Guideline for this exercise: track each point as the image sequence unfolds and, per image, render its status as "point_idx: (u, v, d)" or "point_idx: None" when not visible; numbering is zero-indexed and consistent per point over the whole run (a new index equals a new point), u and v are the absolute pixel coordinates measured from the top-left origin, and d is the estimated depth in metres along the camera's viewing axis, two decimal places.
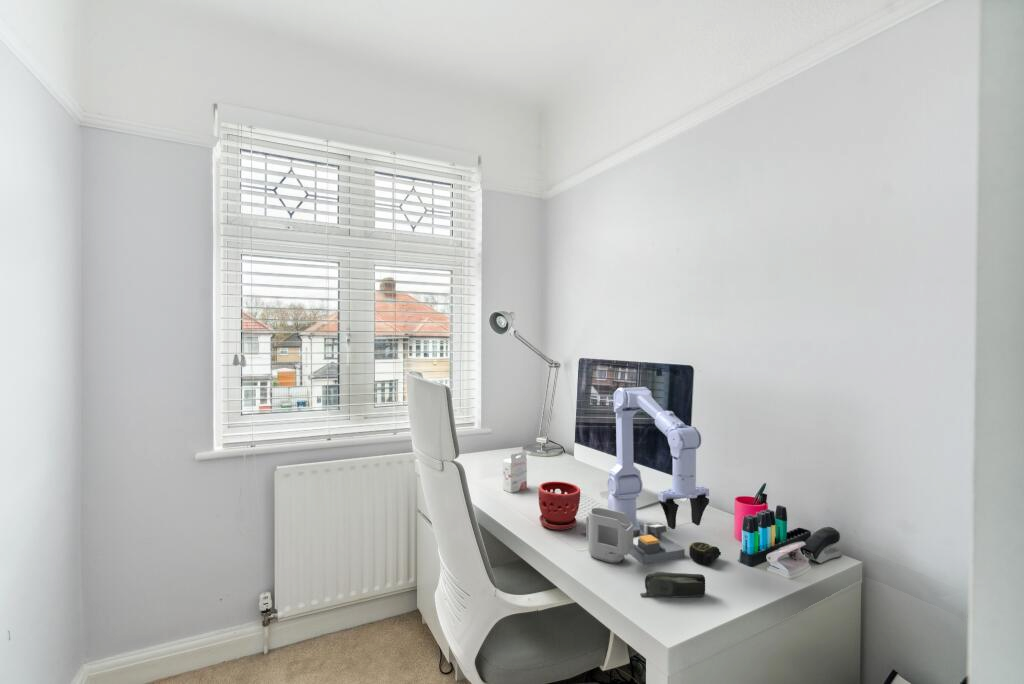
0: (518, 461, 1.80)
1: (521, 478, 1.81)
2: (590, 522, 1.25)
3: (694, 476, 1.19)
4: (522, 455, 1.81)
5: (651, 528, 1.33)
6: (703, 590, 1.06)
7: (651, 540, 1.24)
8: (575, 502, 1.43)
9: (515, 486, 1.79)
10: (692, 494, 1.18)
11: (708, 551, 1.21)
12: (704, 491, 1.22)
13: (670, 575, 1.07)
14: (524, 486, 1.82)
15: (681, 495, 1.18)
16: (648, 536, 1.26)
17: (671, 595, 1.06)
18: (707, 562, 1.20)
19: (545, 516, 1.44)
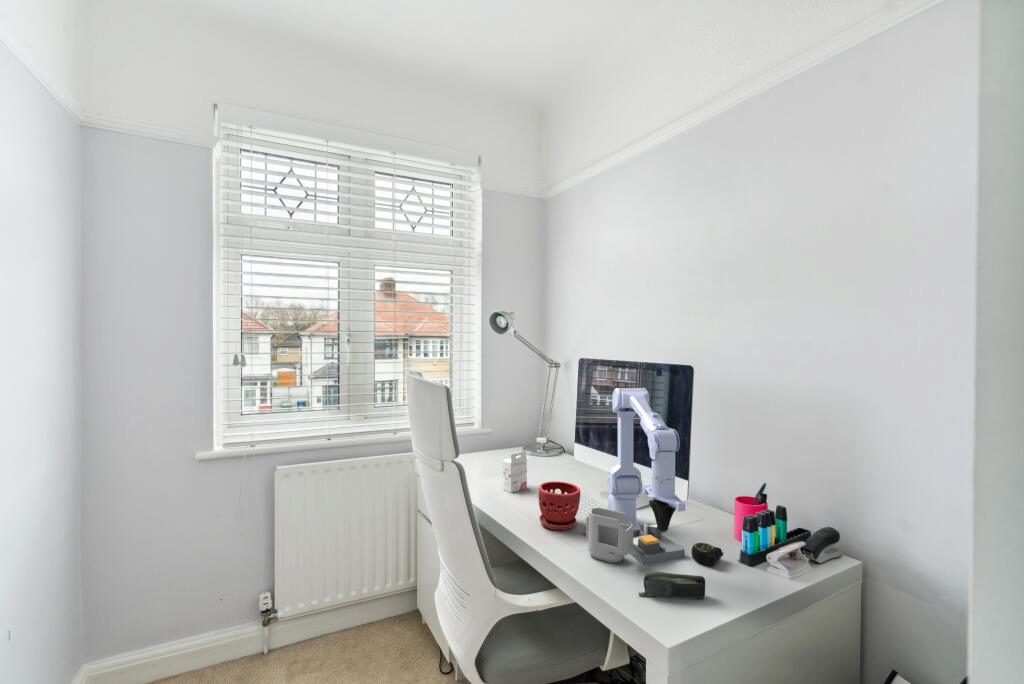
0: (518, 461, 1.80)
1: (521, 478, 1.81)
2: (590, 522, 1.25)
3: (657, 479, 1.17)
4: (522, 455, 1.81)
5: (651, 528, 1.33)
6: (703, 592, 1.05)
7: (651, 540, 1.24)
8: (575, 502, 1.43)
9: (515, 486, 1.79)
10: (652, 495, 1.18)
11: (710, 552, 1.21)
12: (672, 503, 1.14)
13: (669, 575, 1.06)
14: (524, 486, 1.82)
15: (649, 492, 1.21)
16: (648, 536, 1.26)
17: (670, 596, 1.05)
18: (709, 563, 1.19)
19: (545, 516, 1.44)
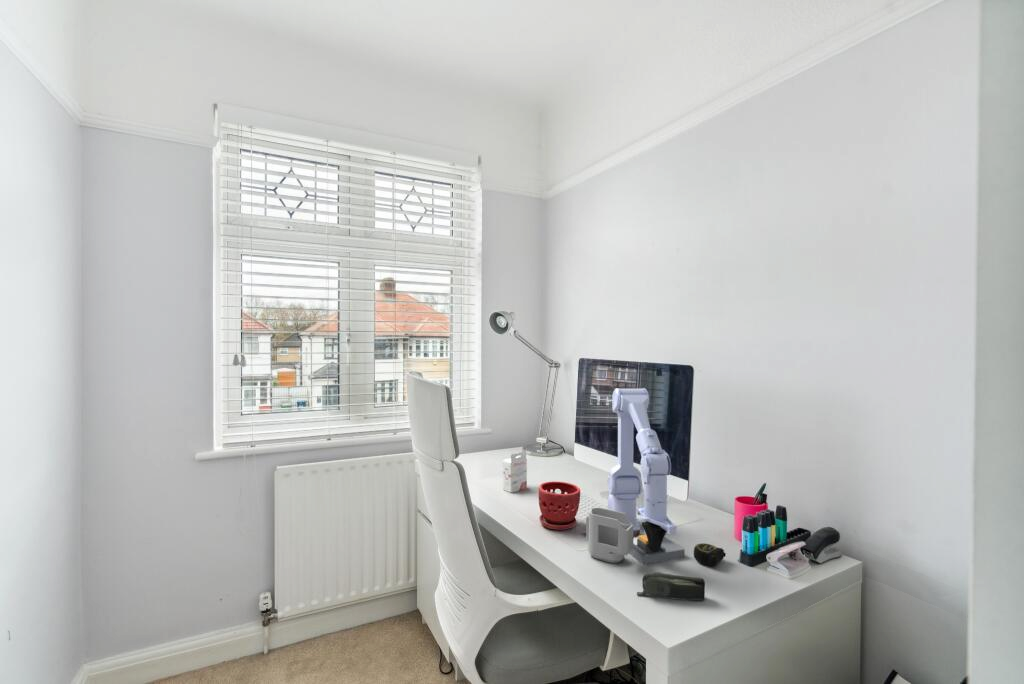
0: (518, 461, 1.80)
1: (521, 478, 1.81)
2: (590, 522, 1.25)
3: (649, 502, 1.21)
4: (522, 455, 1.81)
5: None
6: (702, 594, 1.04)
7: None
8: (575, 502, 1.43)
9: (515, 486, 1.79)
10: (644, 517, 1.21)
11: (713, 553, 1.21)
12: (664, 525, 1.17)
13: (668, 576, 1.06)
14: (524, 486, 1.82)
15: (641, 514, 1.24)
16: None
17: (668, 596, 1.05)
18: (712, 563, 1.19)
19: (545, 516, 1.44)
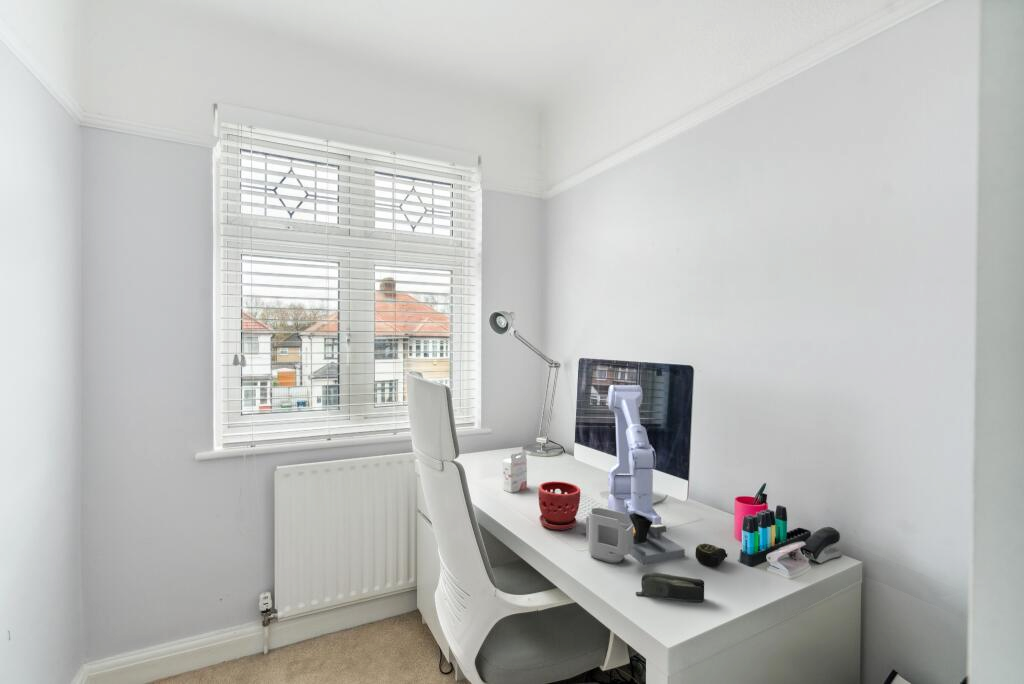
0: (518, 461, 1.80)
1: (521, 478, 1.81)
2: (590, 522, 1.25)
3: (636, 494, 1.26)
4: (522, 455, 1.81)
5: (651, 528, 1.33)
6: (701, 595, 1.04)
7: None
8: (575, 502, 1.43)
9: (515, 486, 1.79)
10: (631, 509, 1.27)
11: (714, 553, 1.20)
12: (649, 516, 1.23)
13: (667, 577, 1.06)
14: (524, 486, 1.82)
15: (629, 506, 1.30)
16: None
17: (667, 597, 1.05)
18: (714, 564, 1.19)
19: (545, 516, 1.44)
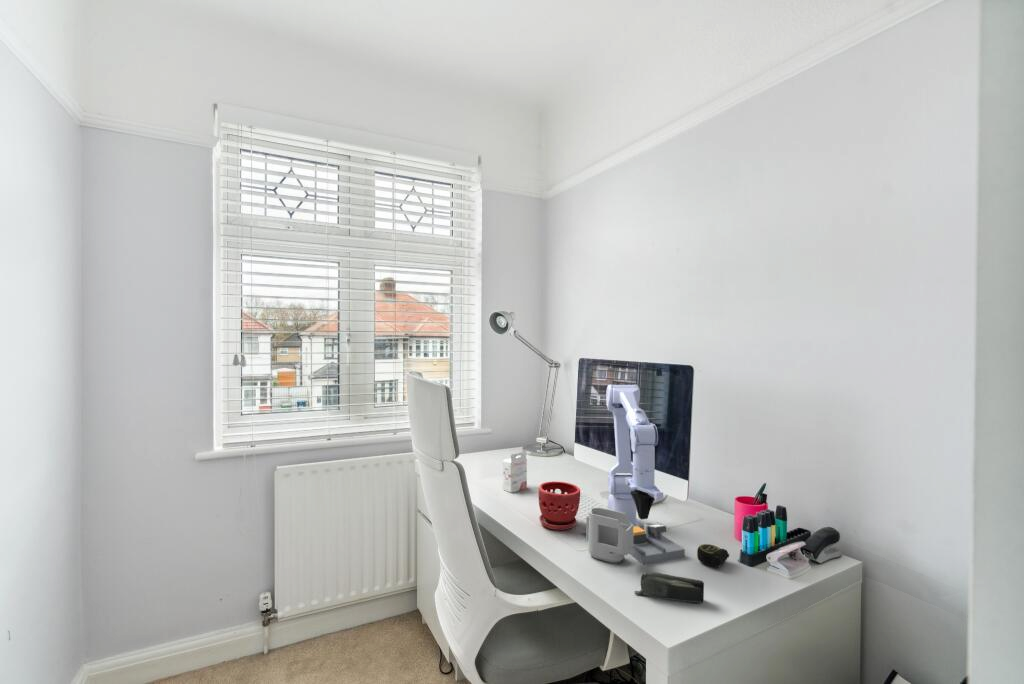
0: (518, 461, 1.80)
1: (521, 478, 1.81)
2: (590, 522, 1.25)
3: (637, 470, 1.25)
4: (522, 455, 1.81)
5: (651, 528, 1.33)
6: (700, 596, 1.03)
7: (638, 531, 1.29)
8: (575, 502, 1.43)
9: (515, 486, 1.79)
10: (632, 485, 1.26)
11: (716, 554, 1.20)
12: (651, 492, 1.22)
13: (666, 577, 1.06)
14: (524, 486, 1.82)
15: (630, 483, 1.29)
16: (635, 527, 1.32)
17: (666, 597, 1.05)
18: (715, 564, 1.19)
19: (545, 516, 1.44)
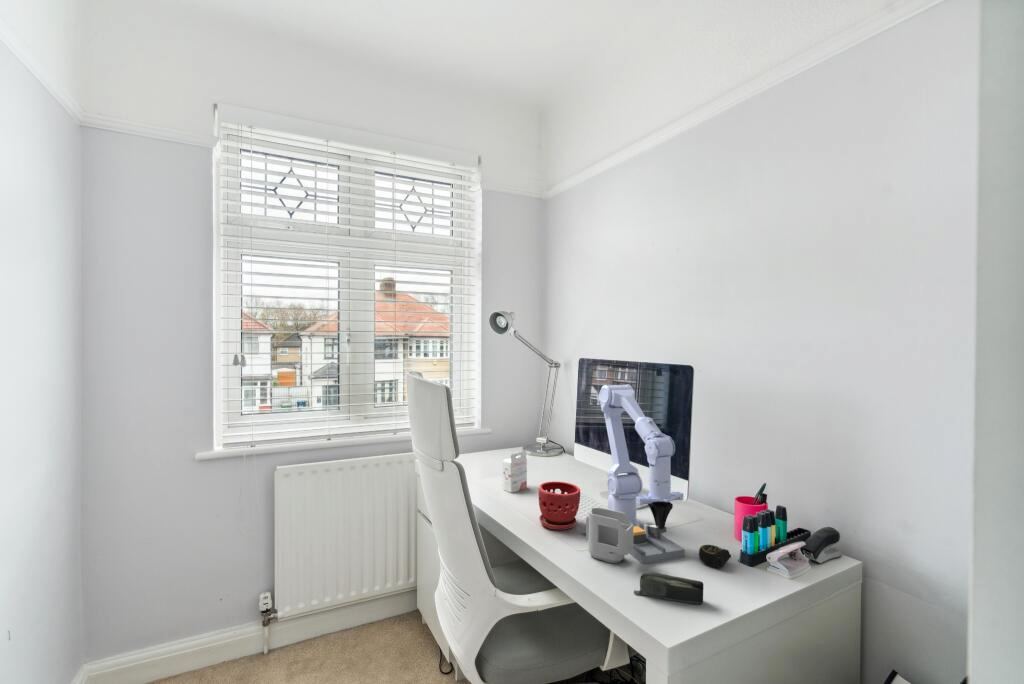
0: (518, 461, 1.80)
1: (521, 478, 1.81)
2: (590, 522, 1.25)
3: (669, 482, 1.30)
4: (522, 455, 1.81)
5: (651, 528, 1.33)
6: (700, 597, 1.03)
7: (638, 531, 1.29)
8: (575, 502, 1.43)
9: (515, 486, 1.79)
10: (667, 498, 1.29)
11: (718, 554, 1.20)
12: (678, 495, 1.32)
13: (665, 577, 1.06)
14: (524, 486, 1.82)
15: (657, 499, 1.29)
16: (635, 527, 1.32)
17: (664, 597, 1.05)
18: (717, 565, 1.18)
19: (545, 516, 1.44)
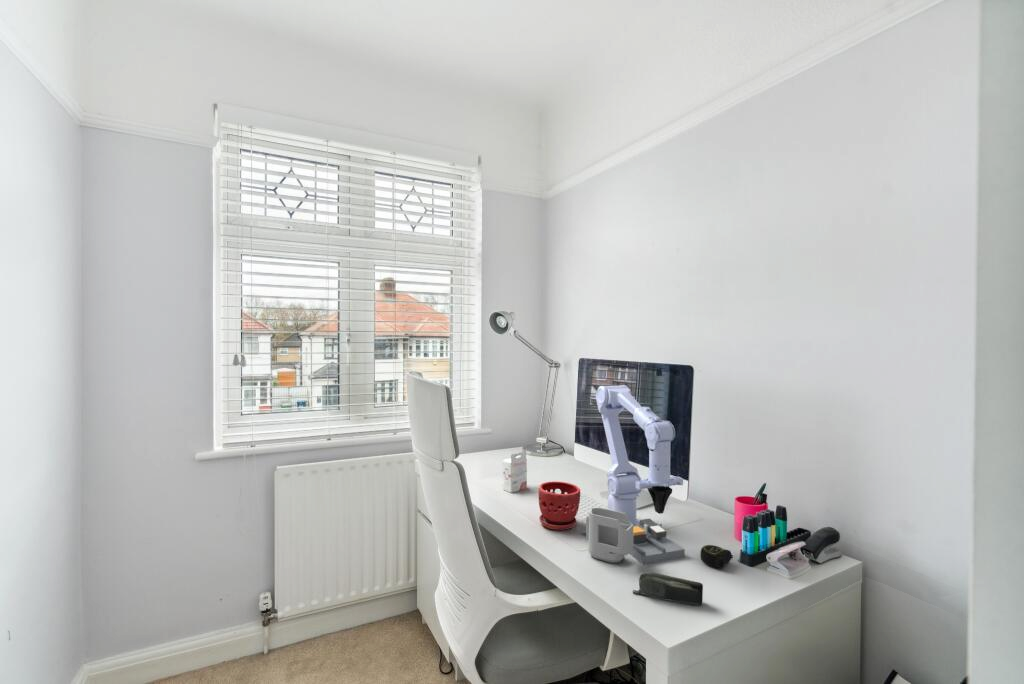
0: (518, 461, 1.80)
1: (521, 478, 1.81)
2: (590, 522, 1.25)
3: (668, 466, 1.30)
4: (522, 455, 1.81)
5: (651, 531, 1.33)
6: (699, 599, 1.02)
7: (638, 531, 1.29)
8: (575, 502, 1.43)
9: (515, 486, 1.79)
10: (666, 483, 1.29)
11: (720, 555, 1.20)
12: (678, 480, 1.32)
13: (664, 577, 1.06)
14: (524, 486, 1.82)
15: (656, 484, 1.29)
16: (635, 527, 1.32)
17: (663, 597, 1.05)
18: (719, 565, 1.18)
19: (545, 516, 1.44)
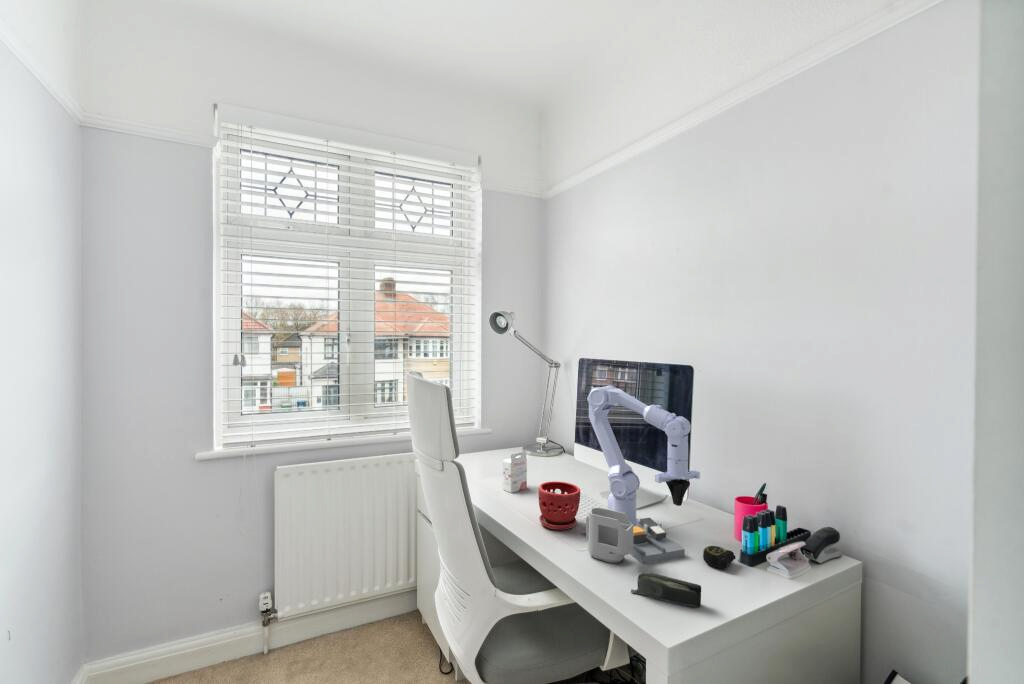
0: (518, 461, 1.80)
1: (521, 478, 1.81)
2: (590, 522, 1.25)
3: (686, 460, 1.35)
4: (522, 455, 1.81)
5: (651, 531, 1.33)
6: (696, 601, 1.02)
7: (638, 531, 1.29)
8: (575, 502, 1.43)
9: (515, 486, 1.79)
10: (684, 476, 1.34)
11: (722, 555, 1.19)
12: (695, 474, 1.38)
13: (662, 578, 1.05)
14: (524, 486, 1.82)
15: (675, 477, 1.35)
16: (635, 527, 1.32)
17: (661, 598, 1.05)
18: (722, 566, 1.18)
19: (545, 516, 1.44)
